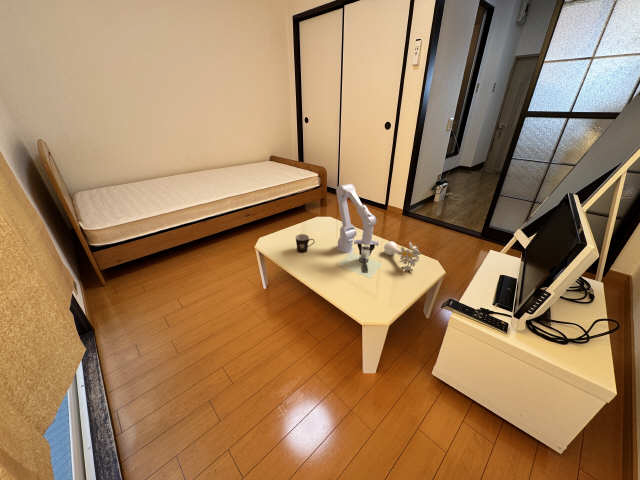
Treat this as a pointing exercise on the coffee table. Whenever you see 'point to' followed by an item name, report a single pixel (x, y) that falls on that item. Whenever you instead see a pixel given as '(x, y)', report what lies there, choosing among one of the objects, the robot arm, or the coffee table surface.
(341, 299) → the coffee table surface
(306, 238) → the coffee mug
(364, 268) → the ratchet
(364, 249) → the socket
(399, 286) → the coffee table surface
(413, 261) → the flower vase
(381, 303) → the coffee table surface
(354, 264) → the mat
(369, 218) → the robot arm
